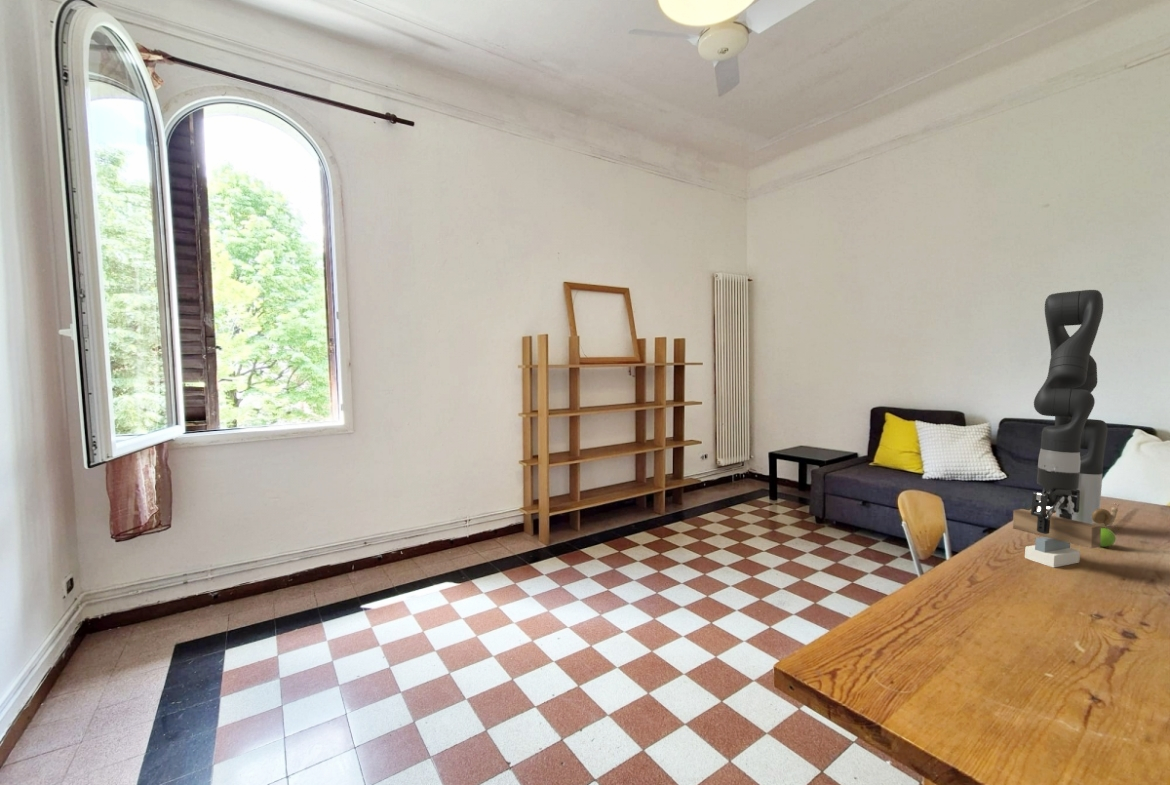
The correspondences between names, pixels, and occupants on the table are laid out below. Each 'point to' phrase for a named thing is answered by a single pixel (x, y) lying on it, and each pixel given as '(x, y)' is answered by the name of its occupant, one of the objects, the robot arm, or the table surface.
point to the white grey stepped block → (1052, 552)
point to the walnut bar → (1060, 529)
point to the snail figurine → (1105, 524)
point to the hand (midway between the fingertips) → (1053, 531)
